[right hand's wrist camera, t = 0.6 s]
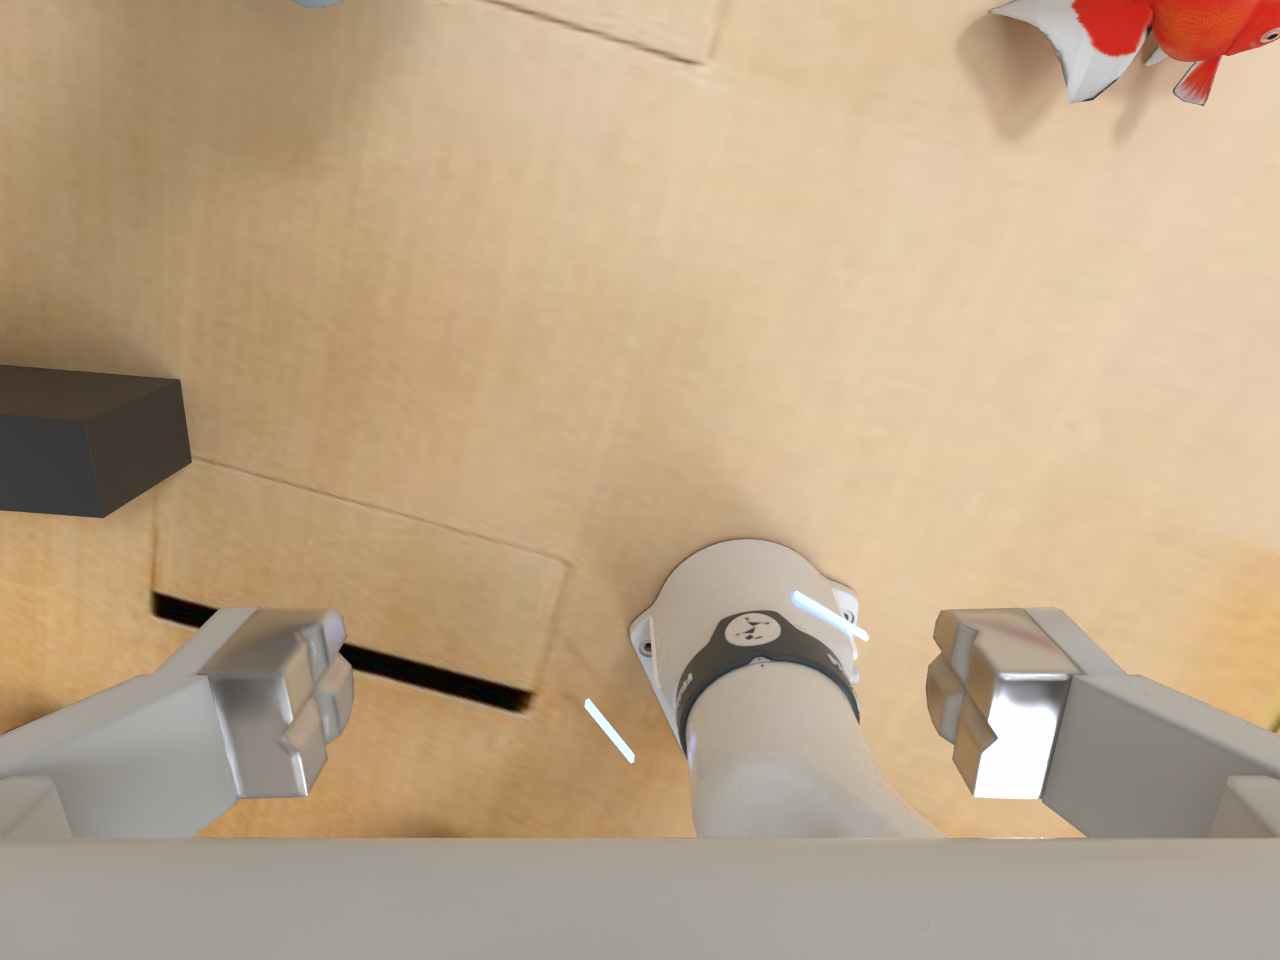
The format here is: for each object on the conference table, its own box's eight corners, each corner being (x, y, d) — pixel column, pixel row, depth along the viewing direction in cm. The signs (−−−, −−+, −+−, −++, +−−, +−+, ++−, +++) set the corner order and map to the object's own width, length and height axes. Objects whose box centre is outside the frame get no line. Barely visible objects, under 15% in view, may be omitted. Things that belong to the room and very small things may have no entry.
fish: (1199, 190, 46) (1291, 90, 36) (948, 116, 50) (972, 10, 41) (1279, 30, 46) (1394, -113, 36) (1021, -30, 50) (1061, -171, 41)
